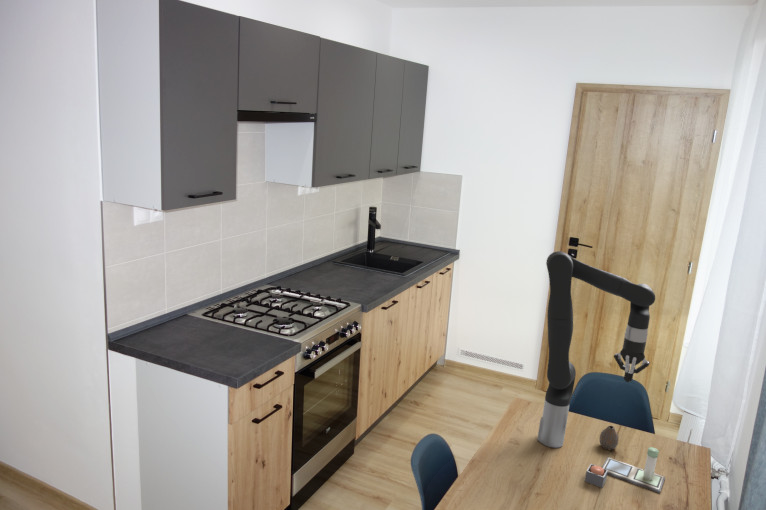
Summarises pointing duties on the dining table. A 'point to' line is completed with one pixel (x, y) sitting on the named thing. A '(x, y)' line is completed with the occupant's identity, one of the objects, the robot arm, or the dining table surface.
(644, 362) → the robot arm
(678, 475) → the dining table surface
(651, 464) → the marker
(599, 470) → the button
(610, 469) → the picture board
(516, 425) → the dining table surface
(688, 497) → the dining table surface
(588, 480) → the button housing
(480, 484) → the dining table surface
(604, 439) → the vase
